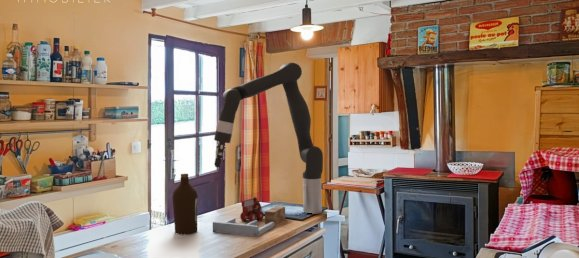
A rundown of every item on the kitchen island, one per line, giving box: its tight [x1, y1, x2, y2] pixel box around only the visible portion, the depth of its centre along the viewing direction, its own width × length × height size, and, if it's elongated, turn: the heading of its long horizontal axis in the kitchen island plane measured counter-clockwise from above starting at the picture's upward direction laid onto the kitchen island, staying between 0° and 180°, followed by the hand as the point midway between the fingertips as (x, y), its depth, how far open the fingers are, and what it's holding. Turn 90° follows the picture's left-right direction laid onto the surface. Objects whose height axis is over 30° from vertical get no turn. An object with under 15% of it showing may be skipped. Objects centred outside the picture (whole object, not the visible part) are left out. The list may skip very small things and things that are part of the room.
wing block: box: [264, 205, 286, 225], centre depth 213 cm, size 12×4×6 cm, turn 155°
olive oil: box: [171, 173, 199, 235], centre depth 198 cm, size 11×11×25 cm
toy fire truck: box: [239, 196, 265, 223], centre depth 217 cm, size 7×12×10 cm, turn 141°
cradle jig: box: [212, 217, 276, 237], centre depth 202 cm, size 16×22×4 cm
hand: (216, 166), depth 212 cm, fingers open, 8 cm apart
